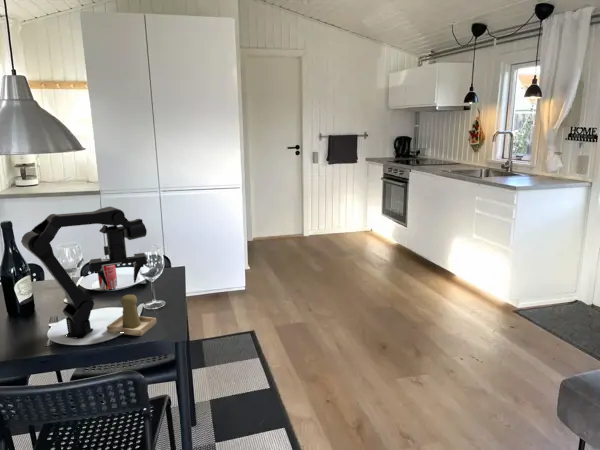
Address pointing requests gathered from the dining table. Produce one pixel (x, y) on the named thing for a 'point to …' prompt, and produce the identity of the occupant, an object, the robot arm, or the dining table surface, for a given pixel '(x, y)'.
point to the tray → (139, 331)
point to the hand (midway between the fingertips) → (121, 284)
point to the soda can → (109, 277)
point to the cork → (130, 312)
